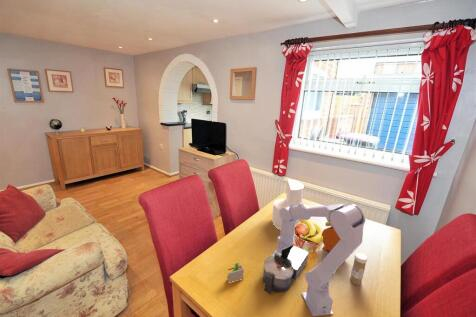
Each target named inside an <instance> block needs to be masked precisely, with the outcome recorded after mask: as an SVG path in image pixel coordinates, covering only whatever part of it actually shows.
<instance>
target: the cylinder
mask: <svg viewBox="0 0 476 317" xmlns="http://www.w3.org/2000/svg"><path fill="white" fill-rule="evenodd" d="M286 185H287V186H286V197H285V198H279V199H276V200H274V201H273V206H272V219H271V223H272V222H273V224H274V225H275V226H276V227H277V228H279V229H281V222H282V219H281V217H280V214H279V212H280V209H282V208H284V207H287V206H290V205H294V206H297V205H298V204H301V203H303V198H304V197H303V196H304V188H305V185H304V184H303V183H302V182H300V181H297V180H294V179H289V178H288V179H287V184H286ZM300 221H301V220H300ZM300 221H299V220H296V222H295V225H297V224H298V223H299V224H300Z"/></svg>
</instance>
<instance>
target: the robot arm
mask: <svg viewBox="0 0 476 317" xmlns="http://www.w3.org/2000/svg"><path fill="white" fill-rule="evenodd" d="M279 214H280V217H281V219H282V222H281V231H280V234H279V235H278V236H277V240H278V244H277V247H276V249H275V250H276V252H278V253H280V254H281V255H282V256H283V257H285V258H288V255H289V253H290V250H291V249H292V247H293V246H295V244H294V242H295V238H296V233H295V231H294V229H295V222H296V220H300V221H308V220H310V218H311V217H313V218H326V222H329V223H330V222H331V224H332V226H333V228H334V229H335V231H336V232H337V234H338V236H339V237H340V239H341V240H340V241H339V242H338V243H337V244H336V246H335V247H334V248H333V249H332V250H331V251H330V252H329V251H328V252H329V253H328V254H327V255H326V256H325V257H324V258H323V259H322V260H321V262H320V263H319V264H318V265H317V266H315V267H313V268H312V269H310V270H309V271H306V273H305V275H304V276H305V281H306V283H307V289H306V291H304V292H301V295H302V297H303V299H304V301H305V303H306V305H307V308H308V309H309V312H310V314H311V315H312V317H319V316H327V315H333V310H332V308H333V302H334V301H333V297H332V296H331V294H330V290H329V286H330V281H332V280H333V279H334V277H335V273H336V271H337V269H338V268H340V267H341V265H342V264H343V263H344V262H345V261H346V260H347V259H348V258H349V257H350V256H351V255H352V254H353V253H354V252H355V251H356V250H357V249H358V248H359V247H360V246H361V245H362V243H363V235H364V225H365V223H366V217H365V214H364V211H363V210H362V209H361V207H359V205H357V204H353V203H348V204H347V205H346V203H337V204H329V205H321V206H320V205H319V206H311V207H310V206H309V205H307V204H304V203H303V202H302V203H301V204H298V205H297V206H294V205H290V206H287V207H284V208H282V209H280V212H279Z"/></svg>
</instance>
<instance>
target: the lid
mask: <svg viewBox="0 0 476 317" xmlns="http://www.w3.org/2000/svg"><path fill="white" fill-rule="evenodd" d="M270 256H271V255H270ZM270 256H269V257H268V258H266V259H265V260H264V262H263V270H264V269H265V271H266V273H267V272H268V271H269V272H271V273H273V274H275V277H274V279H278V280H286V279H289V278H290V277H291V276H292V275H293V271H294V269H293V265H292V261H291V260H289V259H287V258H285V257H283V256H282V255H280V254H278V253H275V255H274V256H271V257H270Z"/></svg>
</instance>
